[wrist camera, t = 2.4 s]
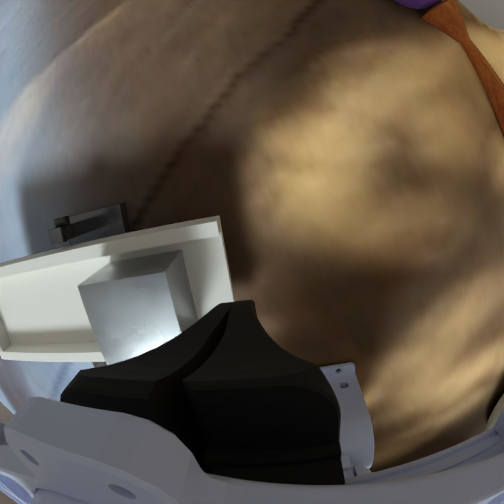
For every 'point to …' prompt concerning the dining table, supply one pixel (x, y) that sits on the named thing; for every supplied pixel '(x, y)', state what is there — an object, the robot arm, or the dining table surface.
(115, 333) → the block
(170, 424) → the robot arm
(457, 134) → the dining table surface
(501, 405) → the serving bowl
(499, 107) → the kendama
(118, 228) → the beam stand
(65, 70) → the dining table surface
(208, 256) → the balance beam
